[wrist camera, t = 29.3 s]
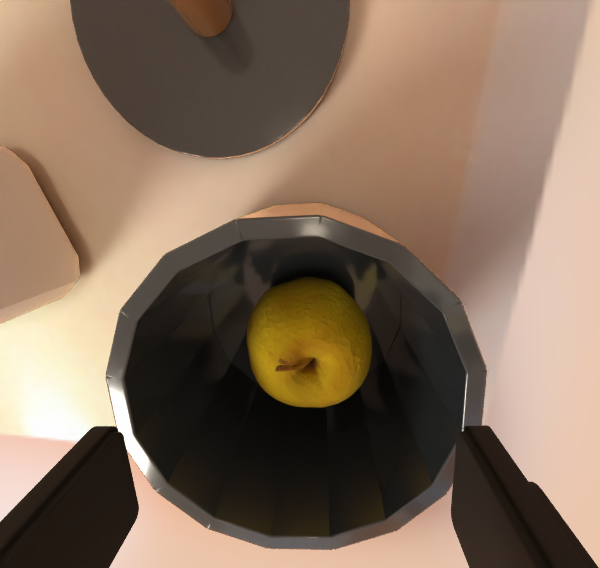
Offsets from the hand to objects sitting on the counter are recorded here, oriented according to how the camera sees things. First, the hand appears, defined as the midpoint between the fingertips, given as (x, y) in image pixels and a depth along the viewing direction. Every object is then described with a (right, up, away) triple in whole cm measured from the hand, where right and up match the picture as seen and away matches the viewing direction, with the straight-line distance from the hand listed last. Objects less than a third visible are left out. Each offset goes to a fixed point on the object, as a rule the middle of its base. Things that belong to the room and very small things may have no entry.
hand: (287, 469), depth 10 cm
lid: (-4, +19, +8) cm, 21 cm away
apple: (+1, +3, +12) cm, 13 cm away
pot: (+1, +4, +13) cm, 13 cm away
